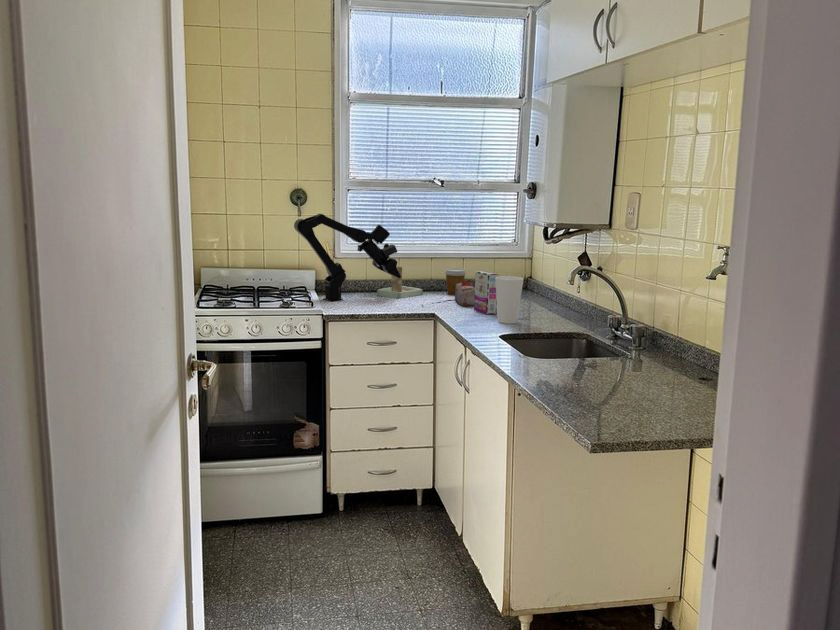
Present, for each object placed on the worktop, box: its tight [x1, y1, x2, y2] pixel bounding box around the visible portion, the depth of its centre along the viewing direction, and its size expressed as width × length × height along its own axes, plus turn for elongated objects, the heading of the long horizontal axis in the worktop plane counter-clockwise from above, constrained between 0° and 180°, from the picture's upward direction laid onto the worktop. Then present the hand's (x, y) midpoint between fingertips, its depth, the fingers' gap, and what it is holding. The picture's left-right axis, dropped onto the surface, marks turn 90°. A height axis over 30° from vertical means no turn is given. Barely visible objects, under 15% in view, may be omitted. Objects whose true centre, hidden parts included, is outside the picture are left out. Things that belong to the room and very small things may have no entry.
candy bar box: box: [473, 270, 499, 315], centre depth 312 cm, size 11×5×16 cm, turn 25°
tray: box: [376, 285, 424, 299], centre depth 345 cm, size 16×13×4 cm
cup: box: [495, 275, 525, 325], centre depth 292 cm, size 11×10×17 cm
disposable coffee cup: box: [444, 268, 467, 296], centre depth 350 cm, size 10×10×12 cm
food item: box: [454, 281, 475, 307], centre depth 330 cm, size 14×8×10 cm, turn 14°
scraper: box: [390, 265, 403, 292], centre depth 342 cm, size 4×7×13 cm, turn 21°
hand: (396, 276), depth 341 cm, fingers open, 9 cm apart
